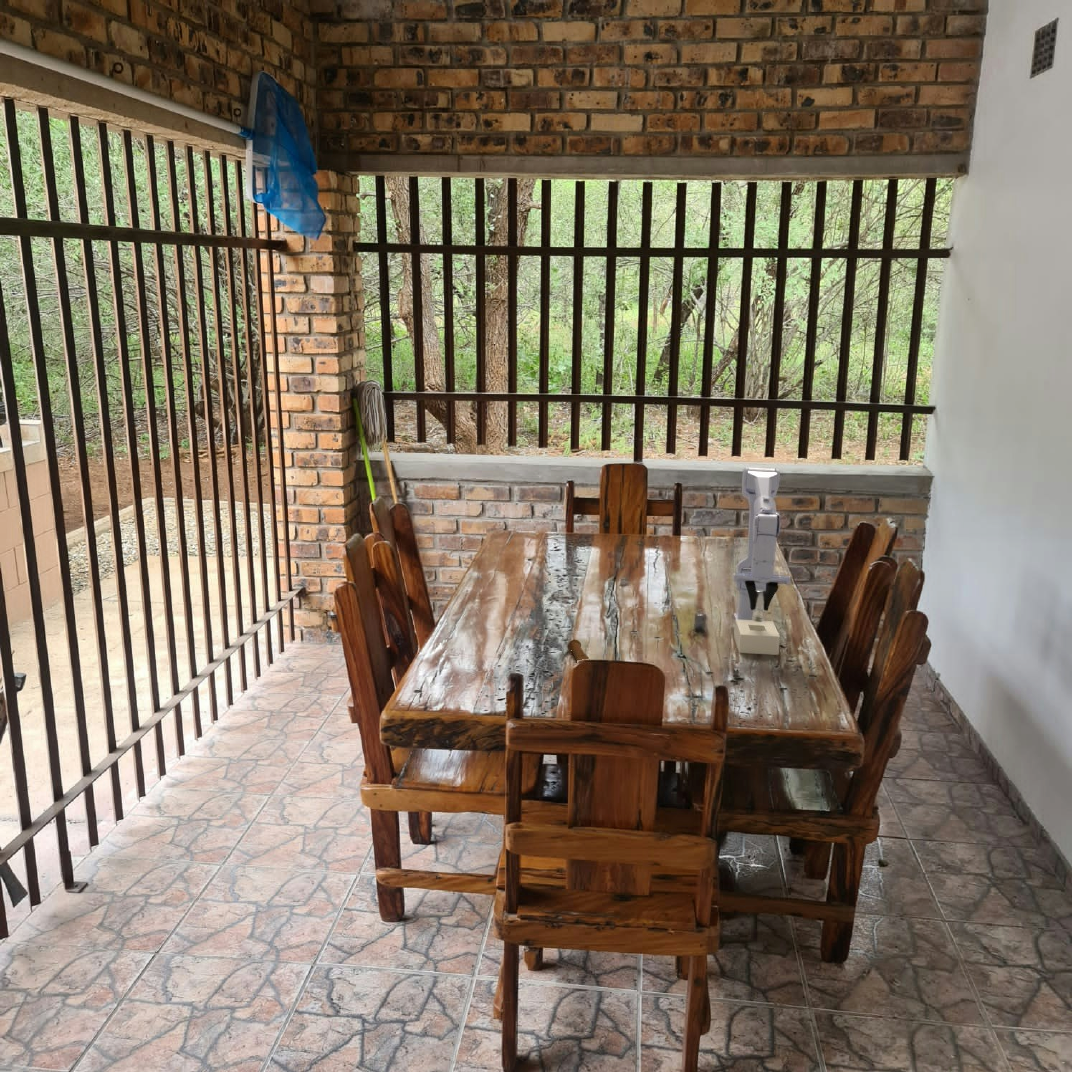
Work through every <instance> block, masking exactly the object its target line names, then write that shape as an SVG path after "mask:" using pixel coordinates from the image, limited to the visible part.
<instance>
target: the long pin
mask: <svg viewBox="0 0 1072 1072" xmlns="http://www.w3.org/2000/svg"><path fill="white" fill-rule="evenodd" d="M765 602H766V591H765V590H761V589H757V590H756V591H755V598H754V610H753V616H752V620H753V621H756V622H763V621H765V613H766V611H765Z"/></svg>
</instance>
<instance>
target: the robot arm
mask: <svg viewBox="0 0 1072 1072" xmlns="http://www.w3.org/2000/svg"><path fill="white" fill-rule="evenodd" d="M780 474H781V472H780V470H779V468H777V467H776V468H771V467H769V468H768V467H767V468H766V467H749V466H745V467H743V470H742V478H741V493H742V495H741V496H742V497H744V498H745V499H747V500H748V505H749V516H748V517H749V518H748V535H747V536H748V537H747V550H746V551H747V553H746V557H744V558H743V559H742V560H740V561H738V563H737V565H736V571H735V572H734V573H732V581H733V583H734V584H735V587H734V588H735V589H736V590H737V591H739V594H738V603H737V613H736V612H735V613H733V616H734V619H738V620H752V616H753V610H754V598H755V591H756V590H757V589H761V590H765V591H766V602H765V612H767V611H769V607H770V606H771V605H770V604H771V602H772V600H773V598H774V596H775V594H776V593H777V592H778V590H779V585H780V584H781V585H787V586H791V582H792V581H791V579H792V578H791V576H790V575H782V574H775V560H776V549H777V540H778V539H777V537H779V535H780V531H781V516H780V514H779V512H777V503H776V501H775V498H776V496H777V493H778V490H779V487H780V479H781V475H780Z"/></svg>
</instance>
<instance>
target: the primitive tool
mask: <svg viewBox="0 0 1072 1072" xmlns="http://www.w3.org/2000/svg"><path fill="white" fill-rule="evenodd" d="M567 650H568V651H570V650H572V651H571V652H572V654H573V656H574V658H575V661H576V660H582V659H589V660H590V658H589V656H588V655H587V654H586V653H585V652H584V650H583V649H582V643H581V642H580V641H579V639H572V640H571V639H570V641H569V642H568V644H567Z"/></svg>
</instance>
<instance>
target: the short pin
mask: <svg viewBox="0 0 1072 1072" xmlns="http://www.w3.org/2000/svg"><path fill="white" fill-rule="evenodd" d="M706 621H707V615H706V613H704V612H703V613H702V612H696V613H695V614H694V621H693V622H694V623H693V631H694V632H698V633H704V632H705V631H706Z"/></svg>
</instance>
